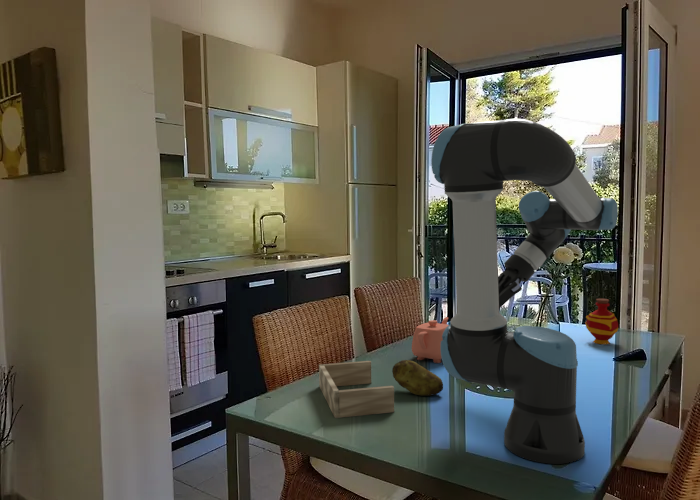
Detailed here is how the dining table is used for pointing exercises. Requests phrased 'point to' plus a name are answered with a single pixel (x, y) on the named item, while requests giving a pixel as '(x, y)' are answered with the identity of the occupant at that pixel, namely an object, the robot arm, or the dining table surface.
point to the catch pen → (353, 390)
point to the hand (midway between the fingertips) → (466, 328)
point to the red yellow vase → (602, 323)
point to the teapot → (429, 340)
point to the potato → (416, 378)
